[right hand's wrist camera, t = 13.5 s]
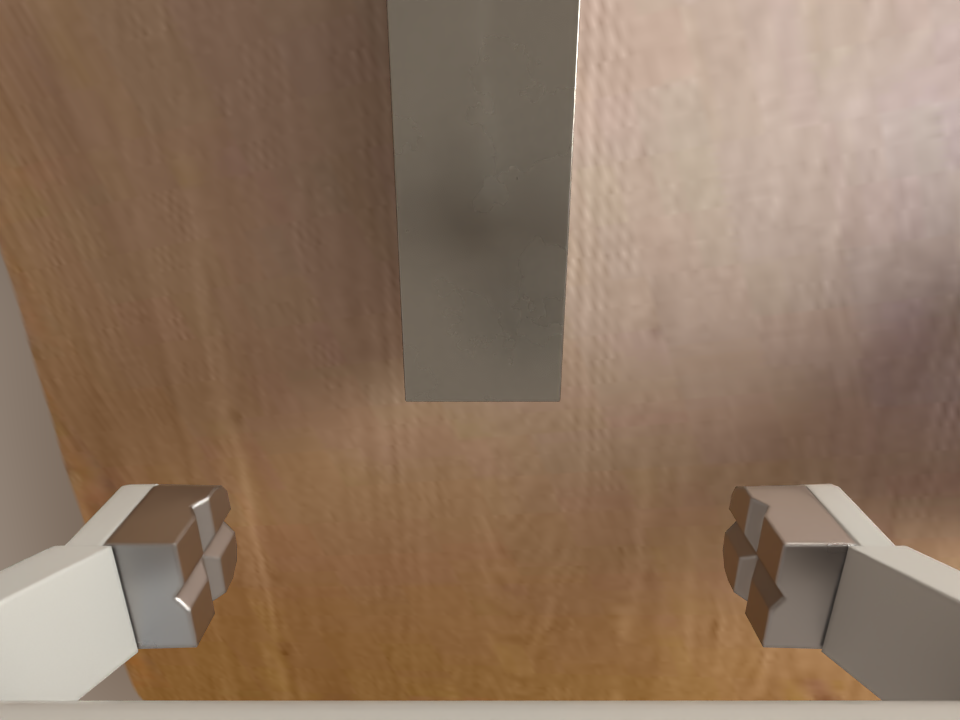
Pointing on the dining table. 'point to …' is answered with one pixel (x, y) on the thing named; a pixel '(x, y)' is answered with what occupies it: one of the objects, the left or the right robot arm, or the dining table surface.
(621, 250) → the dining table surface
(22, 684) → the right robot arm
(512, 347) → the box
